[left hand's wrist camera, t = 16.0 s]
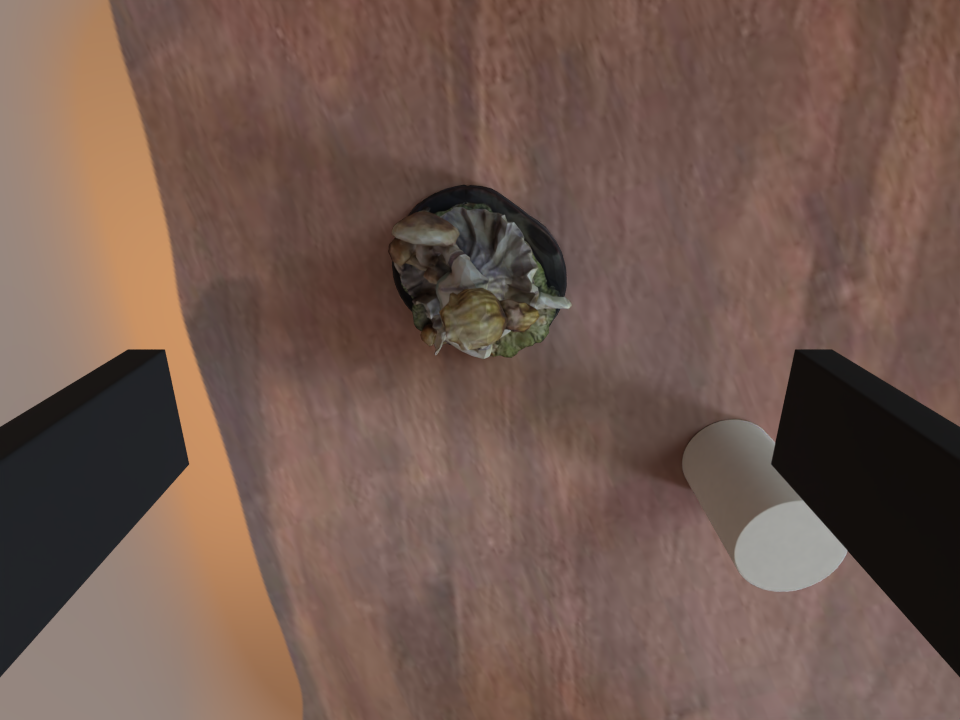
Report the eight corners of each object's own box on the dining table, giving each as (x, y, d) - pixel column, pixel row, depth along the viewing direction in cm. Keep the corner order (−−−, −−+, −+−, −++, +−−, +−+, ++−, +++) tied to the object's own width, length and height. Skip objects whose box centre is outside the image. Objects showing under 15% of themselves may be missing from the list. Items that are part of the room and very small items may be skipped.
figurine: (361, 236, 37) (288, 300, 24) (507, 148, 35) (521, 161, 21) (454, 380, 41) (437, 508, 27) (591, 309, 39) (648, 408, 25)
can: (678, 428, 43) (731, 511, 33) (771, 411, 42) (852, 491, 33) (685, 502, 45) (736, 599, 36) (773, 488, 45) (849, 582, 35)
